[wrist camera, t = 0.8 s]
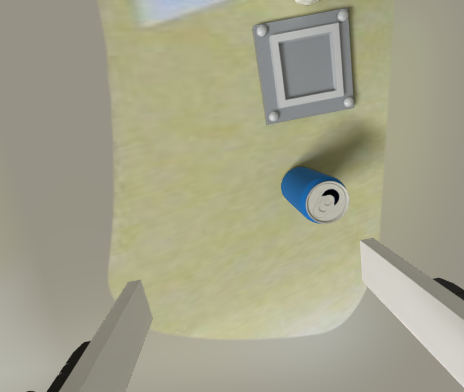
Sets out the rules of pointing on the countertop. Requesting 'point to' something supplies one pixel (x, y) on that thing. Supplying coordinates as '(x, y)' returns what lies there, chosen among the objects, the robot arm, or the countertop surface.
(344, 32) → the socket plate
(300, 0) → the white cup
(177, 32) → the countertop surface
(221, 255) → the countertop surface
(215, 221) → the countertop surface
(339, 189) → the beverage can
